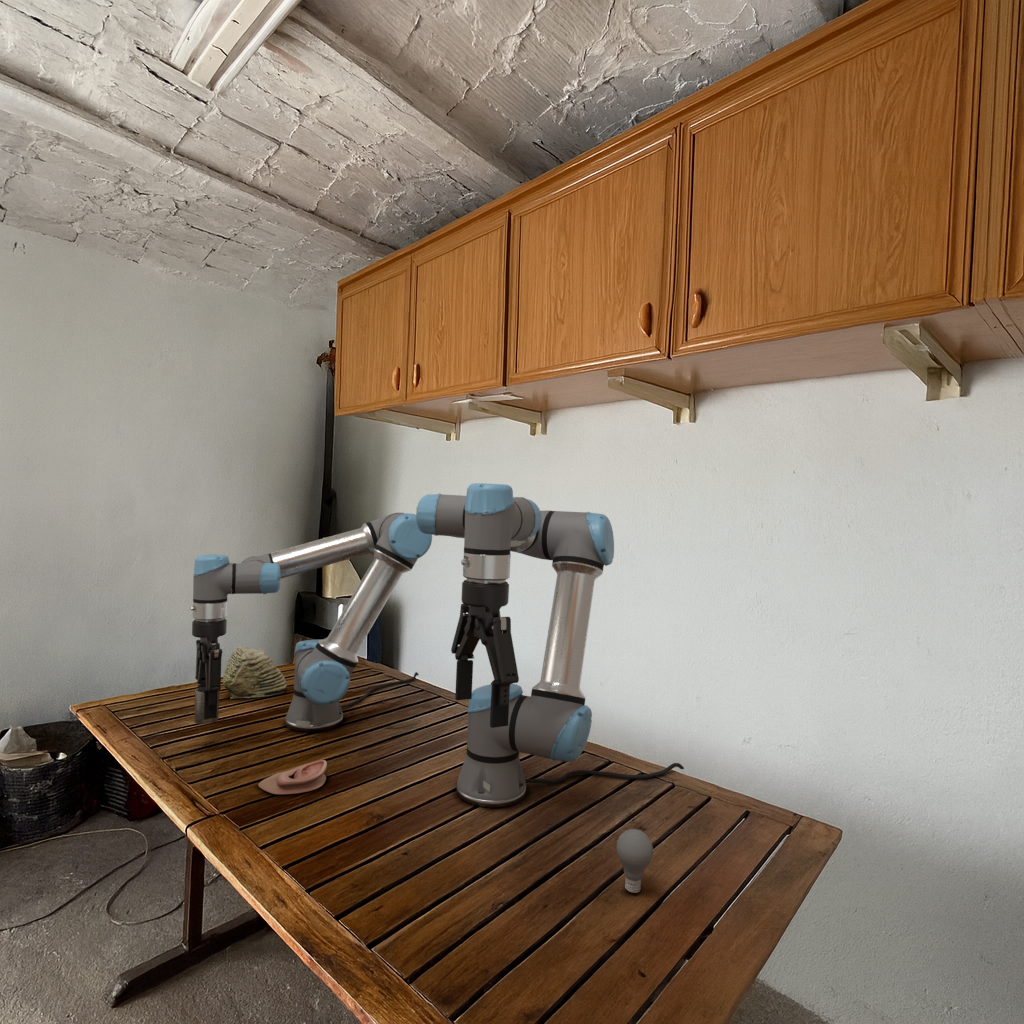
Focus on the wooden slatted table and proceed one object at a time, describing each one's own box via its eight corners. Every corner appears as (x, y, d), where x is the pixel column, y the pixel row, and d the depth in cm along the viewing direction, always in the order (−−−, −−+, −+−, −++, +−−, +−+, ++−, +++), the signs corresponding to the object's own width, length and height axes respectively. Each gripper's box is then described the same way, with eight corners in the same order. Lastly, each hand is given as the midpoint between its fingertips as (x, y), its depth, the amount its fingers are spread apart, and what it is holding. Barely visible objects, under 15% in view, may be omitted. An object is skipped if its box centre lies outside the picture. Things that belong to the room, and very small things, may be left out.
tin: (192, 718, 154) (193, 687, 154) (216, 715, 157) (217, 684, 157) (196, 725, 150) (197, 693, 149) (220, 721, 153) (221, 690, 152)
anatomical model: (250, 772, 134) (280, 751, 146) (249, 790, 135) (280, 768, 146) (307, 780, 132) (333, 759, 143) (306, 799, 132) (333, 776, 143)
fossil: (218, 695, 195) (220, 647, 195) (278, 685, 208) (279, 640, 207) (228, 703, 189) (230, 653, 188) (289, 692, 201) (290, 645, 201)
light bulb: (610, 879, 108) (613, 822, 108) (644, 879, 109) (647, 822, 109) (619, 902, 102) (622, 840, 102) (655, 901, 103) (658, 840, 103)
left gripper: (183, 614, 157) (180, 706, 158) (203, 627, 143) (199, 729, 144) (215, 611, 162) (212, 701, 163) (237, 624, 148) (234, 722, 149)
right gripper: (435, 570, 111) (430, 691, 111) (499, 592, 88) (493, 742, 89) (475, 570, 114) (470, 687, 114) (545, 590, 92) (539, 735, 92)
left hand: (206, 714), depth 153 cm, fingers closed on tin, 5 cm apart
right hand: (480, 712), depth 102 cm, fingers open, 13 cm apart
